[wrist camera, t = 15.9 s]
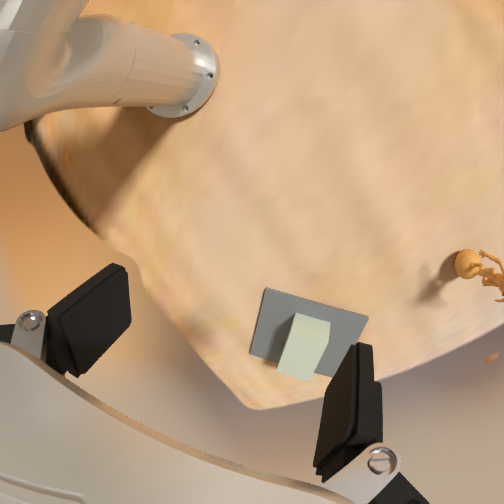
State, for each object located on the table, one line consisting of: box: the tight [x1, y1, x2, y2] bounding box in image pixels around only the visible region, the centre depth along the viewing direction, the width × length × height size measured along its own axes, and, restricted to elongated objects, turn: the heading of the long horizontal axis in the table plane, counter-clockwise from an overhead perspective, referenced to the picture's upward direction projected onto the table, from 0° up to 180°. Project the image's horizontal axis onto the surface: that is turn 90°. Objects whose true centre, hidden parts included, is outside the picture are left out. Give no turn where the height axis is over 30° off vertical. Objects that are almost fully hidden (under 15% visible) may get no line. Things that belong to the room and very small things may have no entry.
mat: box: [250, 288, 368, 377], centre depth 45 cm, size 16×14×1 cm
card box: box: [276, 313, 330, 381], centre depth 43 cm, size 9×6×4 cm, turn 170°
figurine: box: [455, 249, 504, 302], centre depth 27 cm, size 8×6×12 cm
